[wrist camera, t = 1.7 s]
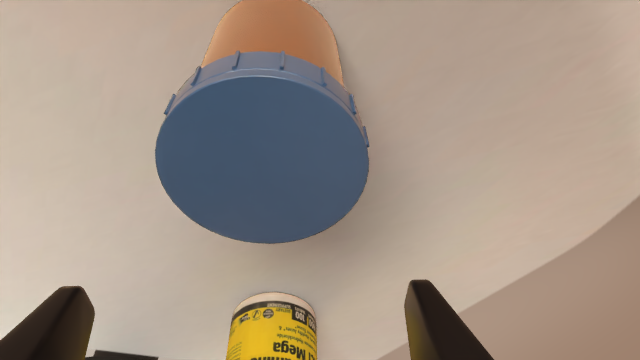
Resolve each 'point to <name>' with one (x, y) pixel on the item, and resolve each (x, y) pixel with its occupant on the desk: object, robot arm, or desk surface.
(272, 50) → the jar
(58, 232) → the desk surface
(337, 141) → the jar lid
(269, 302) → the pill bottle
